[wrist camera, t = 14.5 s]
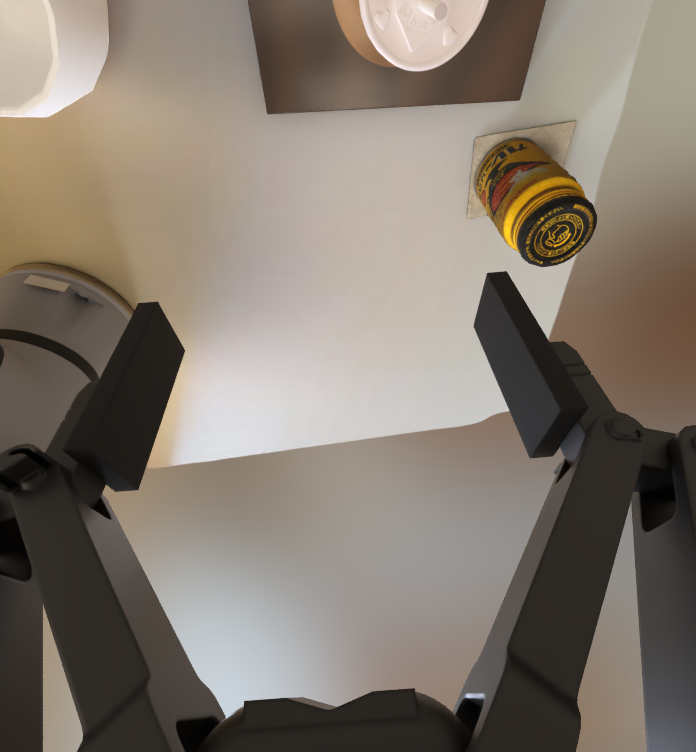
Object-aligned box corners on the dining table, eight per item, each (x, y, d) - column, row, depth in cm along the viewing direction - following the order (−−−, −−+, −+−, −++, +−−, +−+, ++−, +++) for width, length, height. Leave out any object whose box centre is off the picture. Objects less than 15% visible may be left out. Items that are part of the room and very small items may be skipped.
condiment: (474, 137, 32) (521, 196, 24) (575, 120, 31) (658, 175, 23) (465, 218, 37) (502, 287, 30) (551, 205, 37) (612, 273, 29)
